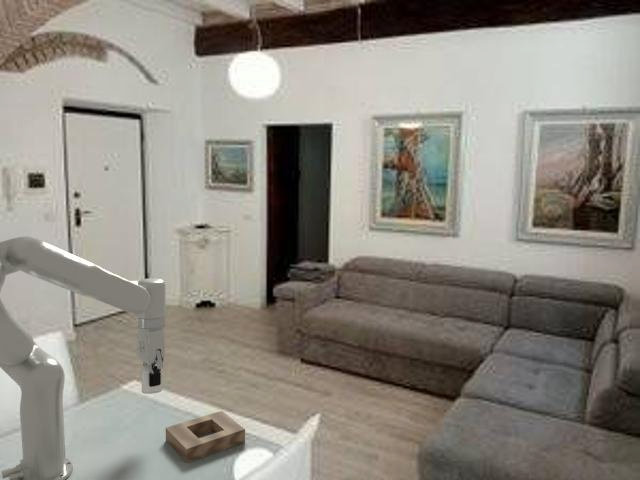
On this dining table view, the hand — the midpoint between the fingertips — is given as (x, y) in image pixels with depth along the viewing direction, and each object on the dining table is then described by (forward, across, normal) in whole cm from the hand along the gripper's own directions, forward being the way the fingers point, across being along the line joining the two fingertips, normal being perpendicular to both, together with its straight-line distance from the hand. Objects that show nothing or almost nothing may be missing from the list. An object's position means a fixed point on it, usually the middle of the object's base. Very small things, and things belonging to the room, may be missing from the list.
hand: (151, 382), depth 153 cm
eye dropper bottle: (+3, 0, 0) cm, 3 cm away
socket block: (+16, +13, +11) cm, 23 cm away
